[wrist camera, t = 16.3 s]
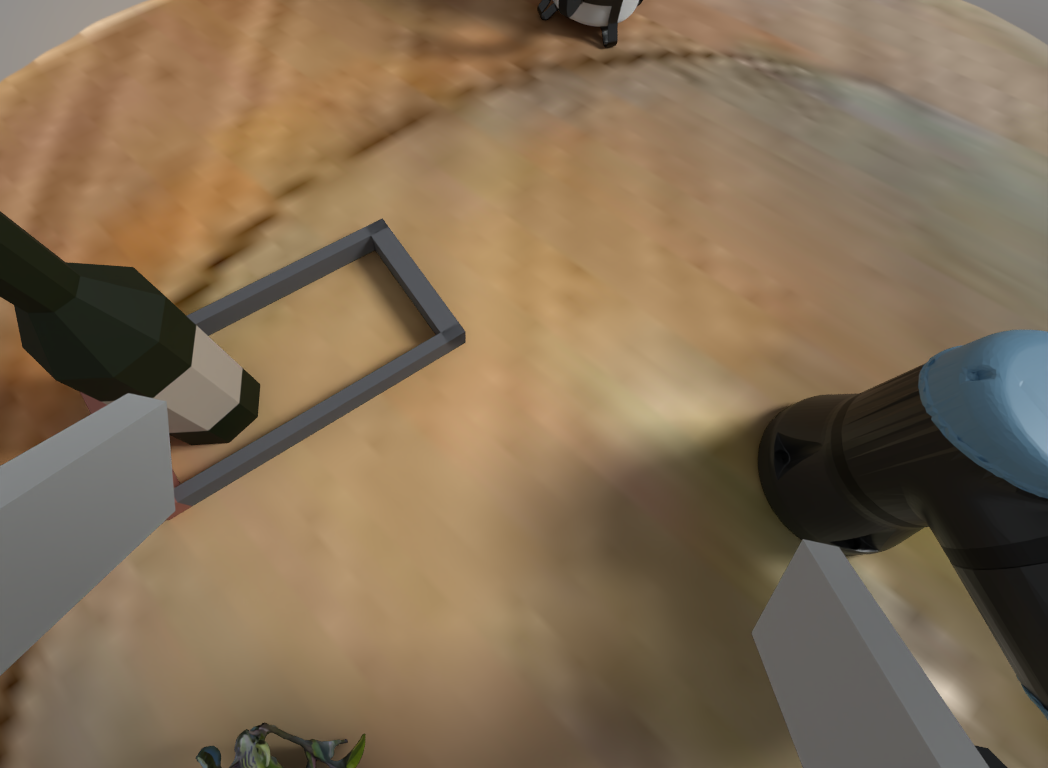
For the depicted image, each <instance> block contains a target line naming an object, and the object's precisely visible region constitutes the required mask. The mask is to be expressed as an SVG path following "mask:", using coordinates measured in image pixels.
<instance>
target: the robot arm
mask: <svg viewBox="0 0 1048 768" xmlns="http://www.w3.org/2000/svg"><path fill="white" fill-rule="evenodd" d="M758 469H759V476H760V480H761V484H762V487H763V490H764V493H765V495H766V498H767V500H768V502H769V504H770V505H771V507H772V509H773V510H774V512H775V513H776V515H777V516H778V517H779V519H780V520H781V521H782V522H783V523H784V525H785V526H786V527H787V528H788V529H789V530H790V531H792V532H793V533H794V534H795V535H796V536H798V537H799V538H800V539H802V541H801V543H800V545H799V547H798V549H797V550H796V552H795V554H794V556H793V558H792V560H791V561H790V563H789V565H788V567H787V569H786V570H785V572H784V574H783V576H782V578H781V580H780V581H779V583H778V585H777V587H776V589H775V591H774V592H773V594H772V596H771V598H770V600H769V602H768V603H767V605H766V607H765V609H764V611H763V612H762V614H761V616H760V618H759V620H758V622H757V623H756V625H755V627H754V629H753V631H752V636H753V638H754V641H755V644H756V646H757V649H758V651H759V654H760V657H761V659H762V662H763V664H764V667H765V670H766V672H767V675H768V678H769V680H770V683H771V685H772V688H773V691H774V693H775V696H776V698H777V701H778V704H779V706H780V709H781V711H782V714H783V717H784V719H785V722H786V724H787V727H788V730H789V732H790V735H791V738H792V740H793V743H794V745H795V748H796V751H797V753H798V756H799V758H800V761H801V764H802V766H803V768H1007V767H1006V766H1005V765H1004V764H1003V763H1002V762H1001V761H1000V760H999V759H998V758H997V757H996V756H995V755H994V754H993V753H992V752H991V751H990V750H989V749H988V748H984V747H979V746H974V744H973V743H972V741H971V740H970V738H969V737H968V736H967V734H966V733H965V731H964V730H963V728H962V727H961V725H960V724H959V722H958V721H957V719H956V718H955V717H954V715H953V714H952V712H951V711H950V709H949V708H948V706H947V705H946V703H945V702H944V700H943V699H942V697H941V696H940V695H939V693H938V692H937V690H936V689H935V687H934V686H933V684H932V683H931V681H930V680H929V678H928V677H927V675H926V674H925V673H924V671H923V670H922V668H921V667H920V665H919V664H918V662H917V661H916V659H915V658H914V656H913V655H912V654H911V652H910V651H909V649H908V648H907V646H906V645H905V643H904V642H903V640H902V639H901V637H900V636H899V634H898V633H897V632H896V630H895V629H894V627H893V626H892V624H891V623H890V621H889V620H888V618H887V617H886V615H885V614H884V612H883V611H882V610H881V608H880V607H879V605H878V604H877V602H876V601H875V599H874V598H873V596H872V595H871V593H870V592H869V591H868V589H867V588H866V586H865V585H864V583H863V582H862V580H861V579H860V577H859V576H858V574H857V573H856V571H855V570H854V569H853V567H852V566H851V564H850V563H849V561H848V560H847V558H846V557H845V555H863V554H873V553H878V552H882V551H885V550H888V549H890V548H892V547H894V546H896V545H898V544H899V543H901V542H902V541H904V540H906V539H907V538H909V537H910V536H912V535H913V534H915V533H916V532H918V531H920V530H921V529H923V528H924V527H930V529H931V530H932V532H933V534H934V535H935V537H936V539H937V540H938V542H939V543H940V545H941V547H942V548H943V550H944V552H945V553H946V555H947V557H948V558H949V560H950V562H951V564H952V565H953V567H954V569H955V571H956V572H957V574H958V576H959V577H960V579H961V581H962V583H963V584H964V586H965V588H966V589H967V591H968V593H969V595H970V596H971V598H972V600H973V601H974V603H975V605H976V607H977V608H978V610H979V612H980V613H981V615H982V617H983V619H984V620H985V622H986V624H987V625H988V627H989V629H990V631H991V632H992V634H993V636H994V637H995V639H996V641H997V643H998V644H999V646H1000V648H1001V649H1002V651H1003V653H1004V655H1005V656H1006V658H1007V660H1008V661H1009V663H1010V665H1011V667H1012V668H1013V670H1014V672H1015V673H1016V676H1017V678H1018V680H1019V681H1020V682H1021V685H1022V687H1023V689H1024V691H1025V693H1026V694H1027V695H1028V697H1029V698H1030V699H1031V700H1032V701H1033V702H1034V703H1035V704H1036V705H1037V707H1038V708H1039V709H1040V710H1041V711H1042V713H1043V714H1044V716H1045V717H1046V718H1047V720H1048V332H1046V331H1039V330H1010V331H1003V332H999V333H995V334H991V335H988V336H986V337H983V338H981V339H978V340H976V341H973V342H971V343H968V344H966V345H963V346H957V347H952V348H949V349H946V350H944V351H942V352H940V353H938V354H936V355H935V356H933V357H931V358H930V359H929V361H928V362H927V363H925V364H923V365H921V366H919V367H917V368H914V369H912V370H910V371H908V372H906V373H903V374H901V375H899V376H897V377H895V378H892V379H890V380H888V381H886V382H884V383H881V384H879V385H877V386H875V387H873V388H870V389H868V390H866V391H864V392H862V393H860V394H835V395H819V396H814V397H810V398H807V399H804V400H802V401H800V402H797V403H796V404H794V405H792V406H790V407H788V408H786V409H785V410H783V411H782V412H780V413H779V414H778V415H777V416H776V417H775V418H774V419H773V420H772V421H771V422H770V424H769V425H768V427H767V428H766V430H765V432H764V434H763V437H762V439H761V443H760V447H759V454H758ZM174 512H175V499H174V487H173V475H172V462H171V450H170V437H169V425H168V413H167V401H163V400H158V399H153V398H149V397H144V396H139V395H135V394H130V393H128V394H126V395H124V396H122V397H121V398H119V399H117V400H115V401H114V402H112V403H110V404H108V405H107V406H105V407H103V408H101V409H100V410H98V411H96V412H94V413H93V414H91V415H89V416H87V417H86V418H84V419H82V420H80V421H79V422H77V423H75V424H73V425H72V426H70V427H68V428H66V429H64V430H63V431H61V432H59V433H57V434H56V435H54V436H52V437H50V438H49V439H47V440H45V441H43V442H42V443H40V444H38V445H36V446H35V447H33V448H31V449H29V450H28V451H26V452H24V453H22V454H21V455H19V456H17V457H15V458H14V459H12V460H10V461H8V462H7V463H5V464H3V465H1V466H0V675H2V674H3V673H4V672H5V671H6V670H7V669H8V668H9V667H10V666H11V665H12V664H13V663H14V662H15V661H16V660H17V659H19V658H20V657H21V656H22V655H23V654H24V653H25V652H26V651H27V650H28V649H29V648H30V647H31V646H32V645H33V644H34V643H36V642H37V641H38V640H39V639H40V638H41V637H42V636H43V635H44V634H45V633H46V632H47V631H48V630H49V629H50V628H51V627H53V626H54V625H55V624H56V623H57V622H58V621H59V620H60V619H61V618H62V617H63V616H64V615H65V614H66V613H67V612H68V611H69V610H71V609H72V608H73V607H74V606H75V605H76V604H77V603H78V602H79V601H80V600H81V599H82V598H83V597H84V596H85V595H86V594H88V593H89V592H90V591H91V590H92V589H93V588H94V587H95V586H96V585H97V584H98V583H99V582H100V581H101V580H102V579H103V578H105V577H106V576H107V575H108V574H109V573H110V572H111V571H112V570H113V569H114V568H115V567H116V566H117V565H118V564H119V563H120V562H122V561H123V560H124V559H125V558H126V557H127V556H128V555H129V554H130V553H131V552H132V551H133V550H134V549H135V548H136V547H137V546H139V545H140V544H141V543H142V542H143V541H144V540H145V539H146V538H147V537H148V536H149V535H150V534H151V533H152V532H153V531H154V530H156V529H157V528H158V527H159V526H160V525H161V524H162V523H163V522H164V521H165V520H166V519H167V518H168V517H169V516H170V515H171V514H173V513H174Z"/></svg>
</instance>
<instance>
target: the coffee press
mask: <svg viewBox="0 0 1048 768" xmlns="http://www.w3.org/2000/svg"><path fill="white" fill-rule="evenodd" d="M642 1H643V0H553V2H554V3H553V4H552V5H551V6H550V7H549V8H548V9H547V10H546V11H545V12H544V10H545V9H546V8H547V6H548V5H549V3H550V2H551V0H542V1H541V3H540V4H539V5H538V8H537V11H538V13H539V15H540V17H541V19H542V20H548V19H549V18H550V17H551V16H552V15H553V14H554V13H555V12H556V11H558V10H559V12H560V14H562V15H564V16H567V17H569V18H571V19H572V20H574V21H577V22H579V23H582V24H585V25H589V26H600V27H601V30H602V37H603V44H604V46H605V47H611V46H616V44H617V25H618V23H619V22H622V21H623V20H625V19H626V18H628V17H629V16H630V15H631V14H632V13H633V12H634V10H635V9H636V7H637V6H638V5H640V4H641V3H642Z"/></svg>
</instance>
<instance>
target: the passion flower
mask: <svg viewBox="0 0 1048 768" xmlns="http://www.w3.org/2000/svg"><path fill="white" fill-rule="evenodd" d="M269 733H274V734H277V735H278V736H280V737H282V738H283V739H287V740H290V741H291V742H294V743H296V744H298V745H301V746H302V747H303V748H304V751H305V754H306V757H307V760H308V762H307V766H306V768H316V767H315V765H316V760H317V759H318V760H320V761H322V762H324V763H326V764H327V765H328V766H329V767H330V768H356V766H357V765H358V763H359V761H360V759H361V757H362V755H363V751H364V747H365V735H366V734H363V735H362V736H361V739H360V740H359V741H358V743H357V744H356V746H355V747H354V748H353V749H352V750H351V752H350V753H349V754H348V755H347V756H346V757H344V758H343V759H341V760H339V761H333V760H331V758H332V757H333V755H334V749H335V747H336V746H338V745H339V744H343V743H347V742H348V741H347V739H344V740H333V741H324V742H321V741H318V740H314V739H311V740H303V739H301V738H299V737H297V736H293V735H291V734H288V733H286V732H284V731H282V730H280V729H278V728H277V727H276V726H275V725H269V724H267V723H262V724H261V725H259V726H255V727H253V728H252V729H251V730H250V731H249V730H247V729H246V730H245V731H243V732H242V733H241V734H240V735H239V736H238V737H237V739H236V744H235V752H236V756H235V759H234V761H233V763H232V765H231V766H230V767H229V768H284V767H283V766H281V765H280V764H279V762H278V761H277V759H276V757H273V756H270V748H269V745H268V744H267V743H266V742H265V738H266V736H267V734H269ZM196 759H197V761H198V762H199V763H200V764H201V766H202V767H203V768H221V754H220V751H219V750H218V748H216V747H215V746H208V747H204V748H202V749H201V751H200V752H199V753H198V755H197V756H196Z"/></svg>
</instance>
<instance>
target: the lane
mask: <svg viewBox="0 0 1048 768" xmlns="http://www.w3.org/2000/svg"><path fill="white" fill-rule="evenodd" d="M374 250H376V252H377V253H378V255H379V256H380V257H381V259H382V260H383V262H384V263H385V264H386V266H387V267H388V269H389V270H390V271H391V273H392V274H393V276H394V277H395V278H396V280H397V281H398V283H399V284H400V285H401V287H402V288H403V290H404V291H405V292H406V294H407V295H408V297H409V298H410V299H411V301H412V302H413V304H414V305H415V306H416V308H417V309H418V311H419V312H420V313H421V315H422V316H423V318H424V319H425V320H426V322H427V323H428V324H429V326H430V327H431V329H432V330H433V331H434V333H435V334H436V336H434V337H432V338H431V339H429V340H427V341H425V342H424V343H422V344H420V345H419V346H417V347H415V348H413V349H412V350H410V351H408V352H407V353H405V354H403V355H401V356H400V357H398V358H396V359H395V360H393V361H391V362H389V363H388V364H386V365H384V366H383V367H381V368H379V369H377V370H376V371H374V372H372V373H371V374H369V375H367V376H365V377H364V378H362V379H360V380H359V381H357V382H355V383H353V384H352V385H350V386H348V387H347V388H345V389H343V390H341V391H340V392H338V393H336V394H335V395H333V396H331V397H329V398H328V399H326V400H324V401H323V402H321V403H319V404H318V405H316V406H314V407H312V408H311V409H309V410H307V411H306V412H304V413H302V414H300V415H299V416H297V417H295V418H294V419H292V420H290V421H288V422H287V423H285V424H283V425H282V426H280V427H278V428H276V429H275V430H273V431H271V432H270V433H268V434H266V435H264V436H263V437H261V438H259V439H258V440H256V441H254V442H252V443H251V444H249V445H247V446H246V447H244V448H242V449H240V450H239V451H237V452H235V453H234V454H232V455H230V456H228V457H227V458H225V459H223V460H222V461H220V462H218V463H216V464H215V465H213V466H211V467H210V468H208V469H206V470H205V471H203V472H201V473H199V474H198V475H196V476H194V477H193V478H191V479H189V480H187V481H186V482H184V483H182V484H181V485H180V483H179V481H178V479H177V477H176V475H175V473H174V471H173V469H172V475H173V487H174V499H175V512H174V513H173V514H171V515H170V516H169V517H168V518H167V519H166V520H170V519H172V518H173V517H175V516H177V515H178V514H180V513H182V512H183V511H185V510H187V509H188V508H190V507H192V506H193V505H195V504H197V503H198V502H200V501H202V500H203V499H205V498H207V497H208V496H210V495H212V494H213V493H215V492H217V491H218V490H220V489H222V488H223V487H225V486H227V485H228V484H230V483H232V482H233V481H235V480H237V479H238V478H240V477H242V476H243V475H245V474H247V473H248V472H250V471H252V470H253V469H255V468H257V467H258V466H260V465H262V464H263V463H265V462H267V461H268V460H270V459H272V458H273V457H275V456H277V455H278V454H280V453H282V452H283V451H285V450H287V449H288V448H290V447H292V446H293V445H295V444H297V443H298V442H300V441H302V440H303V439H305V438H307V437H308V436H310V435H312V434H314V433H315V432H317V431H319V430H320V429H322V428H324V427H325V426H327V425H329V424H330V423H332V422H334V421H335V420H337V419H339V418H340V417H342V416H344V415H345V414H347V413H349V412H350V411H352V410H354V409H355V408H357V407H359V406H360V405H362V404H364V403H365V402H367V401H369V400H370V399H372V398H374V397H375V396H377V395H379V394H380V393H382V392H384V391H385V390H387V389H389V388H390V387H392V386H394V385H395V384H397V383H399V382H400V381H402V380H404V379H405V378H407V377H409V376H410V375H412V374H414V373H415V372H417V371H419V370H420V369H422V368H424V367H425V366H427V365H429V364H430V363H432V362H434V361H435V360H437V359H439V358H440V357H442V356H444V355H445V354H447V353H449V352H450V351H452V350H454V349H455V348H457V347H459V346H460V345H462V344H464V343H465V331H464V329H463V328H462V326H461V325H460V324H459V322H458V321H457V320H456V318H455V317H454V316H453V314H452V313H451V311H450V310H449V309H448V307H447V306H446V305H445V303H444V302H443V301H442V299H441V298H440V296H439V295H438V294H437V292H436V291H435V290H434V288H433V287H432V285H431V284H430V283H429V281H428V280H427V279H426V277H425V276H424V275H423V273H422V272H421V270H420V269H419V268H418V266H417V265H416V264H415V262H414V261H413V260H412V258H411V257H410V255H409V254H408V253H407V251H406V250H405V249H404V247H403V246H402V245H401V243H400V242H399V240H398V239H397V238H396V236H395V235H394V234H393V232H392V231H391V230H390V228H389V227H388V225H387V224H386V223H385V221H384V220H383V219H380V220H378V221H376V222H374V223H372V224H370V225H368V226H366V227H364V228H362V229H360V230H358V231H356V232H354V233H352V234H350V235H348V236H346V237H344V238H342V239H340V240H338V241H336V242H334V243H332V244H330V245H328V246H326V247H324V248H322V249H320V250H318V251H316V252H314V253H312V254H310V255H308V256H306V257H304V258H302V259H300V260H298V261H296V262H294V263H292V264H290V265H288V266H286V267H284V268H282V269H280V270H278V271H276V272H274V273H272V274H270V275H268V276H266V277H264V278H262V279H260V280H258V281H256V282H254V283H252V284H250V285H248V286H246V287H244V288H242V289H240V290H238V291H236V292H234V293H232V294H230V295H228V296H226V297H224V298H222V299H220V300H218V301H216V302H214V303H212V304H210V305H208V306H205V307H203V308H201V309H199V310H197V311H195V312H193V313H191V314H189V315H187V317H188V318H189V319H190V320H191V321H192V322H193V323H195V324H196V325H197V326H198V327H199V328H200V329H201V330H202V331H203V332H204V333H205V334H206V335H207V336H209V335H211V334H213V333H215V332H217V331H218V330H220V329H222V328H224V327H226V326H228V325H230V324H232V323H234V322H236V321H238V320H240V319H242V318H244V317H246V316H248V315H250V314H252V313H253V312H255V311H257V310H259V309H261V308H263V307H265V306H267V305H269V304H271V303H273V302H275V301H277V300H279V299H281V298H283V297H285V296H287V295H288V294H290V293H292V292H294V291H296V290H298V289H300V288H302V287H304V286H306V285H308V284H310V283H312V282H314V281H316V280H318V279H320V278H322V277H323V276H325V275H327V274H329V273H331V272H333V271H335V270H337V269H339V268H341V267H343V266H345V265H347V264H349V263H351V262H353V261H355V260H357V259H358V258H360V257H362V256H364V255H366V254H368V253H370V252H372V251H374ZM80 393H81V395H82V397H83V399H84V401H85V403H86V405H87V407H88V409H89V411H90V413H91V414H93V413H94V412H96V411H98V410H100V409H101V408H103V407H105V406H107V404H105V403H103V402H100V401H98V400H96V399H94V398H92V397H90V396H88V395H86V394H84V393H82V392H80Z"/></svg>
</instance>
